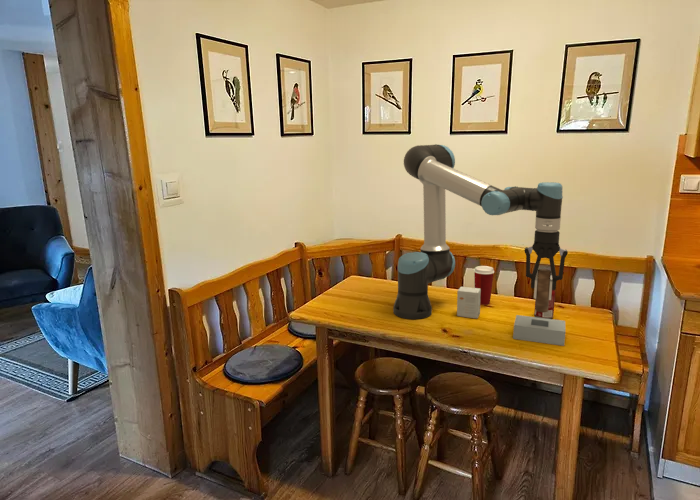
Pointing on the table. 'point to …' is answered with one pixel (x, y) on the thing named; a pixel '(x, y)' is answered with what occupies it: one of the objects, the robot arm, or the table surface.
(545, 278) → the peg
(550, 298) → the robot arm
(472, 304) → the small box
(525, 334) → the socket block
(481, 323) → the table surface
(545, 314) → the soda can
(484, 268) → the coffee cup
